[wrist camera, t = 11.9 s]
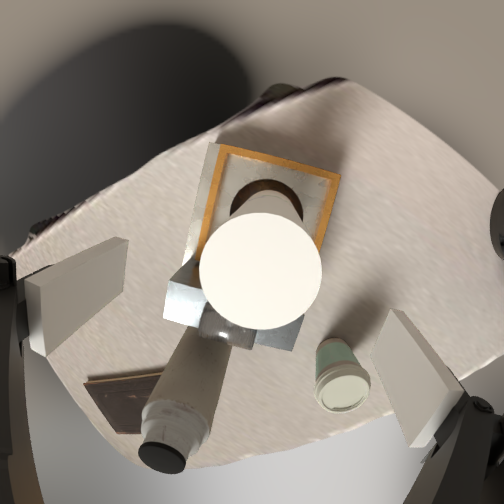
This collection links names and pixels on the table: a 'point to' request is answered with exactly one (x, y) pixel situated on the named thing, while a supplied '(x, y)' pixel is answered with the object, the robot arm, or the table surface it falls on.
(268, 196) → the cylindrical container
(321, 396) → the coffee cup
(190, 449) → the thermos bottle
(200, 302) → the grey stand with tray
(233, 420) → the table surface
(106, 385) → the hardcover book
